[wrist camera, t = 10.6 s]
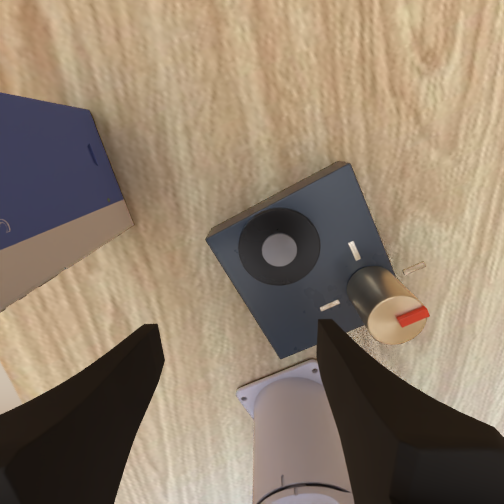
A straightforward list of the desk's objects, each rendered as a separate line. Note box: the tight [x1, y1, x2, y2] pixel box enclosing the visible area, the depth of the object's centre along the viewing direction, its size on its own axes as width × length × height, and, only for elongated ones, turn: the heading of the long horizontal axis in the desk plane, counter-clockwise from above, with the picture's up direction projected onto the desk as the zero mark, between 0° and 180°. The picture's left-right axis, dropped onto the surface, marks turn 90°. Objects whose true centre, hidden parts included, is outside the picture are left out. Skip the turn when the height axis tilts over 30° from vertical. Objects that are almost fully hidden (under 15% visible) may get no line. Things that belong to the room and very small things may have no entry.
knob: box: [347, 266, 430, 345], centre depth 17 cm, size 3×3×4 cm
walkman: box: [0, 93, 134, 312], centre depth 14 cm, size 8×3×12 cm, turn 13°
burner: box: [238, 207, 320, 286], centre depth 18 cm, size 5×5×1 cm
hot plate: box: [205, 161, 426, 359], centre depth 20 cm, size 12×12×3 cm
